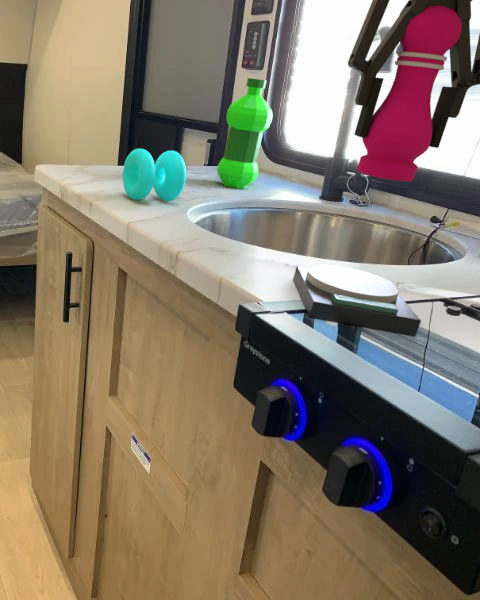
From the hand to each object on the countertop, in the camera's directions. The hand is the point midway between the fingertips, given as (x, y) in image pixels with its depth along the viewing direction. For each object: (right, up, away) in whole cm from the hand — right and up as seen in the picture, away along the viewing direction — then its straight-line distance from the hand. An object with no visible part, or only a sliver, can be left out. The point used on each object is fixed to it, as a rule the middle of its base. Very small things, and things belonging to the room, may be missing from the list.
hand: (395, 140), depth 70 cm
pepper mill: (-1, -4, +2) cm, 4 cm away
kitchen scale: (-3, -19, +6) cm, 20 cm away
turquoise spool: (-23, +2, +51) cm, 56 cm away
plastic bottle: (+1, +10, +78) cm, 79 cm away
